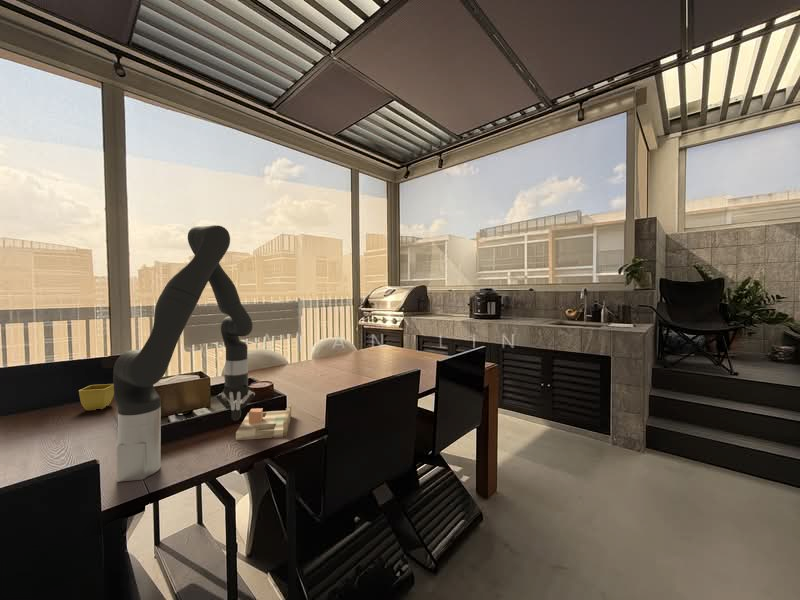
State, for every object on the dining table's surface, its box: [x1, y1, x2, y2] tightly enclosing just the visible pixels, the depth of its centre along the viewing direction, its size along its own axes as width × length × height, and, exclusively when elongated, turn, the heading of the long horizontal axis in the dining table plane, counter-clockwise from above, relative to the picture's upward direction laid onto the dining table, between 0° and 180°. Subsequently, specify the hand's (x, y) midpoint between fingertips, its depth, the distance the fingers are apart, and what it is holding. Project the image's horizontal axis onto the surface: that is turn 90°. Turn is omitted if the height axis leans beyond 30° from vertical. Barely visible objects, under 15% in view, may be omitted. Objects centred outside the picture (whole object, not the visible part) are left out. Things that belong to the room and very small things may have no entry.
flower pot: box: [78, 383, 114, 411], centre depth 138 cm, size 9×9×9 cm
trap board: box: [235, 403, 292, 441], centre depth 123 cm, size 19×16×5 cm
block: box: [248, 407, 264, 424], centre depth 122 cm, size 4×4×4 cm
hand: (236, 419), depth 120 cm, fingers closed
